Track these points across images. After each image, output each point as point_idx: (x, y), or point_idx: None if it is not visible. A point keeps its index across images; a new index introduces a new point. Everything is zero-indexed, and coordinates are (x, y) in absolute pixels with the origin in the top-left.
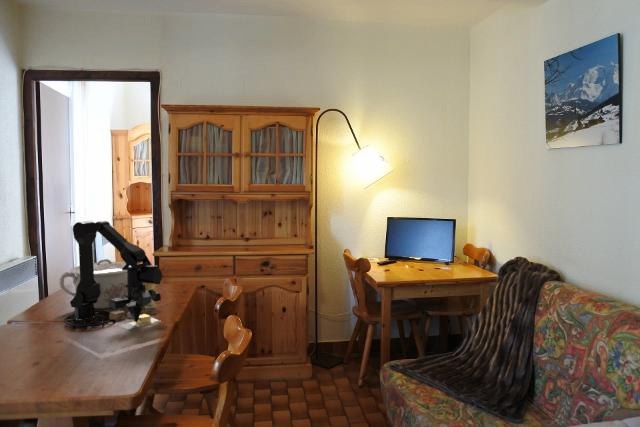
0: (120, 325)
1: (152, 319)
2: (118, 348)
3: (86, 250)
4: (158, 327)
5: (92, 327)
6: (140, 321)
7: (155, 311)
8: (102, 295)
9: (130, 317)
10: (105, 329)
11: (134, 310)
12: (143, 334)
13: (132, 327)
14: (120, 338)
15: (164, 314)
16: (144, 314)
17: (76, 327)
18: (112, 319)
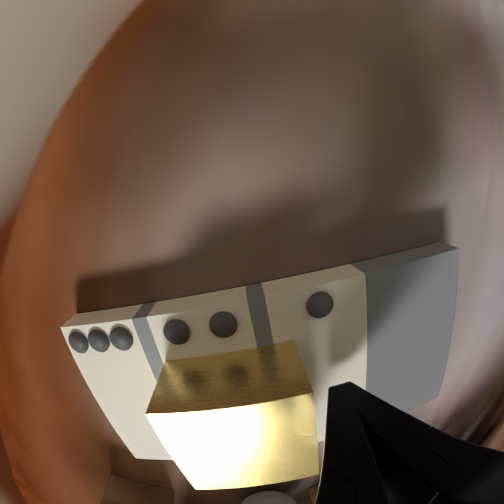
0: (431, 389)
1: (133, 421)
2: (487, 12)
3: None
4: (119, 219)
5: (465, 430)
6: (303, 372)
7: (103, 497)
8: None
9: (286, 501)
10: (465, 388)
11: (477, 466)
12: (345, 80)
13: (407, 284)
14: (492, 137)
15: (64, 462)
16: (207, 483)
17: (482, 437)
18: None
